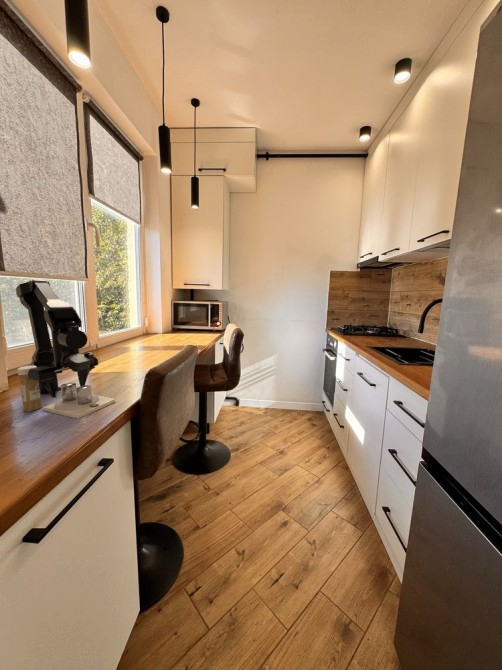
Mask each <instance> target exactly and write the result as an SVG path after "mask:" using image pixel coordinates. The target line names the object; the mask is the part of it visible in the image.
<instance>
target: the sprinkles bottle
mask: <svg viewBox="0 0 502 670" xmlns="http://www.w3.org/2000/svg"><path fill="white" fill-rule="evenodd" d="M36 367H37V366H30V365H25V366H20V367H18V368H17V370H16V371H17V375H18V379H19V387H20V388H19V390H20V396H21V401H22V407H23V408H22V411H24V412H33V411H36V410H39V409H40V408H42V402H41V394H40V391H39V384H38V381H37V380H34V379H29V378H28V372H29V370H30V369H32V368H36Z"/></svg>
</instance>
